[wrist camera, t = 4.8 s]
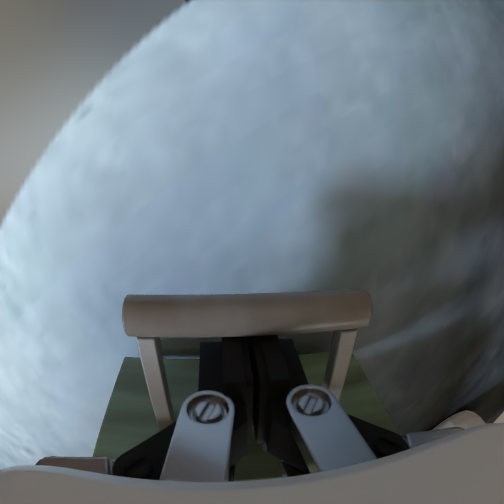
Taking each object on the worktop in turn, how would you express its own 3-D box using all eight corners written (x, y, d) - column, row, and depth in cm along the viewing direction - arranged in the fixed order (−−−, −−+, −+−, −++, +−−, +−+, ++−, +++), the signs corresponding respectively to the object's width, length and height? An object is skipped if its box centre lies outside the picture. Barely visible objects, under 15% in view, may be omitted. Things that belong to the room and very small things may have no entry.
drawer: (103, 248, 12) (18, 342, 5) (369, 245, 13) (469, 325, 7) (167, 481, 18) (163, 553, 12) (311, 474, 19) (331, 542, 13)
